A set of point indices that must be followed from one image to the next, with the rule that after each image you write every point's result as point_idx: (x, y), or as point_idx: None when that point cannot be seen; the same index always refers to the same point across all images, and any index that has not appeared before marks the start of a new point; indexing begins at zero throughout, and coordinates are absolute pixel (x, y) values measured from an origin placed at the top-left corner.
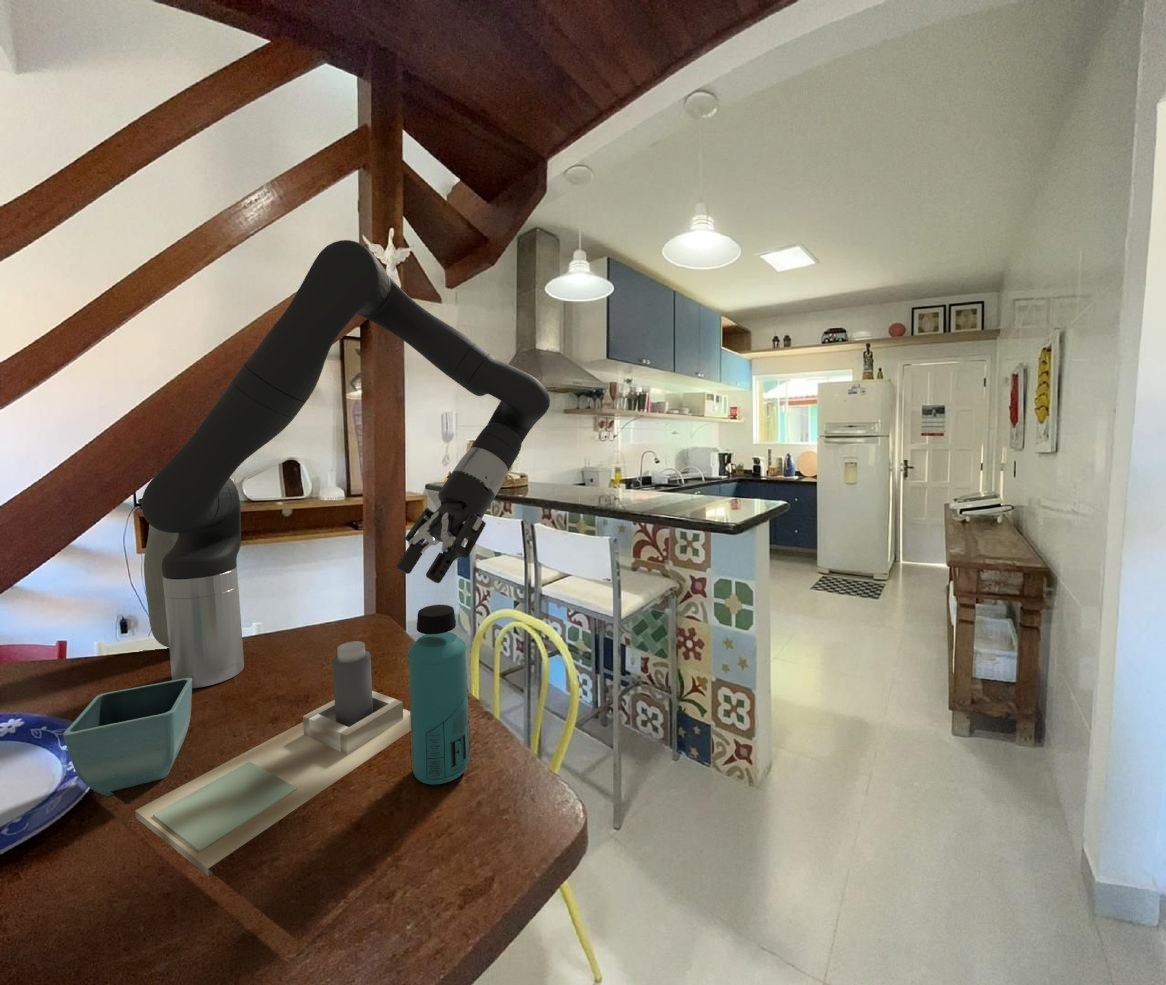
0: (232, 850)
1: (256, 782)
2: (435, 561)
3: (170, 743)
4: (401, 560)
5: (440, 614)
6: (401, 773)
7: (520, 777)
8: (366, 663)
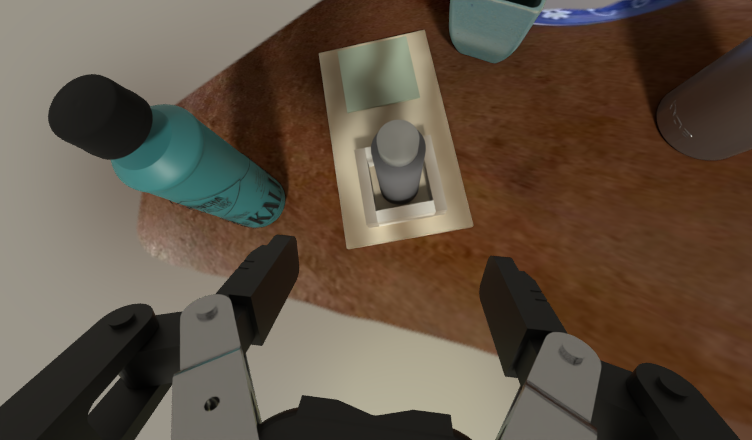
0: (321, 66)
1: (382, 93)
2: (258, 265)
3: (449, 20)
4: (506, 271)
5: (55, 97)
6: (302, 185)
7: (207, 252)
8: (373, 161)
